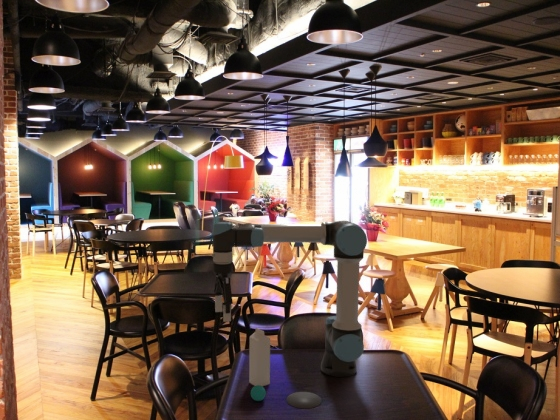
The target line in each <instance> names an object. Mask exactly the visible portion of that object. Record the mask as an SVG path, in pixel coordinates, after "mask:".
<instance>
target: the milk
mask: <svg viewBox="0 0 560 420" xmlns="http://www.w3.org/2000/svg"><path fill="white" fill-rule="evenodd" d="M248 354H249V357H248V358H249V359H248V360H249V361H248V362H249V374H248V375H249V378H248V379H249V380H248V381H249V384H250V385H252V386H253V387H254V386H256V385H260V386H262V387H264V386H265V387H266V386H269V385H270V384H271V382H270V381H271V377H270V376H271V337H269V336H267V335H265V331H264V330H262V329H260V328H258V327H256V328H255V331H254V332H253V333H251V335H250V336H249V353H248Z"/></svg>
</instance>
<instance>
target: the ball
mask: <svg viewBox="0 0 560 420" xmlns="http://www.w3.org/2000/svg"><path fill="white" fill-rule="evenodd" d="M266 394H267V393H266V388H265V387H264V386H260V385H256V386H254V385H253V387H252V388H251V390H250V396H251V399H252V400H254V401H255V402H261V401H262V400H264V399H265V397H266Z"/></svg>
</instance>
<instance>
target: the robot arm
mask: <svg viewBox="0 0 560 420" xmlns="http://www.w3.org/2000/svg"><path fill="white" fill-rule="evenodd" d="M212 228H213V229H212V250H213V251H212V254H211V257H212V261H213V263H212V272H213V273H214V274H215V278H214V287H213V293H214V297H215V298H214V300H215V301H214V302H215V303H214V309H215V310H214V311H215V313H223V315H222V317H223V321H222V322H224V323H225V322H231V321H232V304H233V303H234V302H233V294H232V286H231V285H232V284H231V277H229V276H228V274H232V273H233V269H234V268H233V266H234V265H233V259H234V256H233V255H234V252H233V251H234V250H233V248H261V247H263V246H264V243H314V244H315V243H318V244H319V243H320V244H321V245H322V246H332V247H333V258H334V259H335V260H336V262H337V263H336V264H337V266H336V268H337V269H336V270H337V271H336V308H335V309H336V311H335V315H332V316H329V317H327V318H326V319H325V339H324V342H325V346H324V347H325V348H324V349H325V350H324V354H323V357H322V360H321V363H320V370H321V372H323V374H325V375H328V376H330V377H331V376H332V377H337V378H338V377H339V378H343V377H344V378H345V377H350V376H354V375H355V374H356V372H357V363H356V360H358V359H359V358H360V357H361V356H362V355H363V353H364V349H365V345H364V341H363V338H362V323H360V322H359V295H360V293H359V291H360V289H359V288H360V262H361V261H362V260H363V259H364V254H365V252H364V251H365V249H366V247H367V243H368V237H367V234H366V232H365V230H364V229H363V228H362V227H361V226H360V225H359V224H357V223H355V222H354V223H353V222H351V221H348V220H338V221H336V220H335V221H323V222H321V223H320V224H309V223H308V224H306V223H305V224H301V223H300V224H295V223H292V224H290V223H288V224H287V223H286V224H285V223H283V224H282V223H280V224H279V223H275V224H274V223H270V224H269V223H266V224H265V223H259V224H258V223H257V224H255V223H250V222H248V223H244V224H242V225H241V226H240V227H234V226H233V223H232V222H230V221H229V222H228V221H219V222H215V223H214V224H213V226H212Z"/></svg>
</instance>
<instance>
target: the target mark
mask: <svg viewBox="0 0 560 420" xmlns="http://www.w3.org/2000/svg"><path fill="white" fill-rule="evenodd" d="M286 403H287V404H288V405H289V406H291V407H294V408H296V409H297V408H298V409H313V408H316V407H319V406H320V405H321V403H322V398H321V397H320V395H318V394H316V393H313V392H309V391H296V392H293V393H290V394H289V395H288V396H287V397H286Z"/></svg>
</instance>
